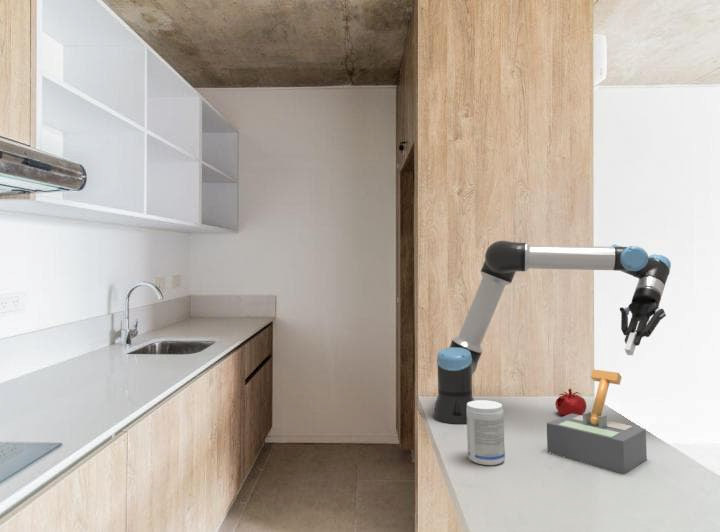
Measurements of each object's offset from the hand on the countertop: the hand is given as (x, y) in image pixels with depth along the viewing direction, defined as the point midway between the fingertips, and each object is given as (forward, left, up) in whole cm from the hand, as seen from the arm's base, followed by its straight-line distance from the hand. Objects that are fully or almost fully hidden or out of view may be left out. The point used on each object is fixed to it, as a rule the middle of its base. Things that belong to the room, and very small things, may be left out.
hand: (628, 352), depth 142 cm
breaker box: (-1, -21, -26) cm, 33 cm away
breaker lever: (-1, -22, -17) cm, 28 cm away
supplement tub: (-19, -45, -26) cm, 56 cm away
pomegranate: (-24, +11, -26) cm, 37 cm away
